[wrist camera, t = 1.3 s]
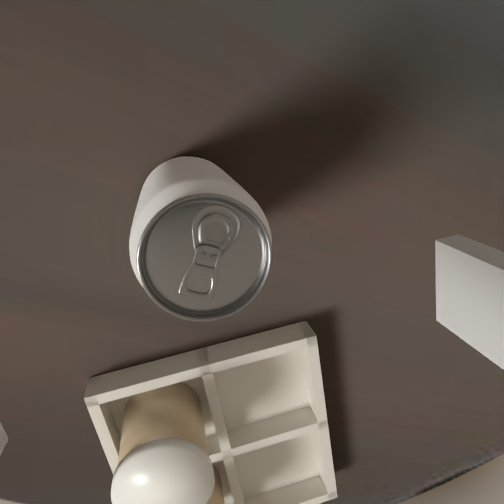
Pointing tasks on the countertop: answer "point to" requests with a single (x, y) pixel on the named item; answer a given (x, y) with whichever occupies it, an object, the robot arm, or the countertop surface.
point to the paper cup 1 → (163, 450)
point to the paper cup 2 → (217, 489)
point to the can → (199, 241)
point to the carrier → (241, 413)
